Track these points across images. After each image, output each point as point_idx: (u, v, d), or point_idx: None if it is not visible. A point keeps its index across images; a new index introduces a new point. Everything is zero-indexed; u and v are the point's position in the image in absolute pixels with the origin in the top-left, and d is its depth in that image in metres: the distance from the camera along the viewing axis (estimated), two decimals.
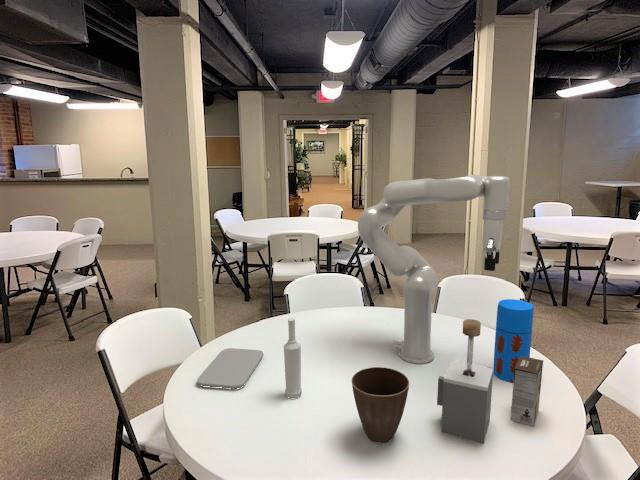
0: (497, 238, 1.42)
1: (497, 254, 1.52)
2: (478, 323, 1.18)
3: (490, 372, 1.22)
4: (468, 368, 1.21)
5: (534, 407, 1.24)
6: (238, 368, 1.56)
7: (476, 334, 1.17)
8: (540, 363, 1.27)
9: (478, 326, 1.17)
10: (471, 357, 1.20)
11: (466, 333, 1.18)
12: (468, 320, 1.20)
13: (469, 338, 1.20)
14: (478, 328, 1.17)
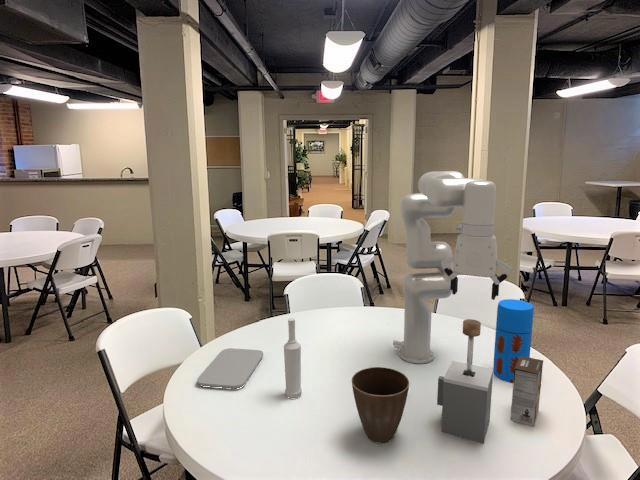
0: None
1: (457, 280, 1.20)
2: (478, 323, 1.18)
3: (490, 372, 1.22)
4: (468, 368, 1.21)
5: (534, 407, 1.24)
6: (238, 368, 1.56)
7: (476, 334, 1.17)
8: (540, 363, 1.27)
9: (478, 326, 1.17)
10: (471, 357, 1.20)
11: (466, 333, 1.18)
12: (468, 320, 1.20)
13: (469, 338, 1.20)
14: (478, 328, 1.17)
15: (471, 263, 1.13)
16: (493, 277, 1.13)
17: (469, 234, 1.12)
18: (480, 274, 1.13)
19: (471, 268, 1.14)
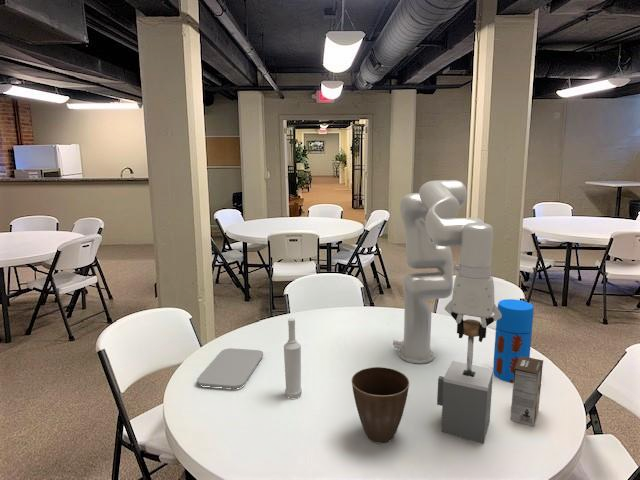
0: None
1: None
2: (478, 323, 1.18)
3: (490, 372, 1.22)
4: (468, 368, 1.21)
5: (534, 407, 1.24)
6: (238, 368, 1.56)
7: (476, 334, 1.17)
8: (540, 363, 1.27)
9: (478, 326, 1.17)
10: (471, 357, 1.20)
11: (466, 333, 1.18)
12: (468, 320, 1.20)
13: (469, 338, 1.20)
14: (478, 328, 1.17)
15: (469, 303, 1.16)
16: (483, 320, 1.16)
17: (467, 276, 1.14)
18: (477, 314, 1.15)
19: (468, 308, 1.16)
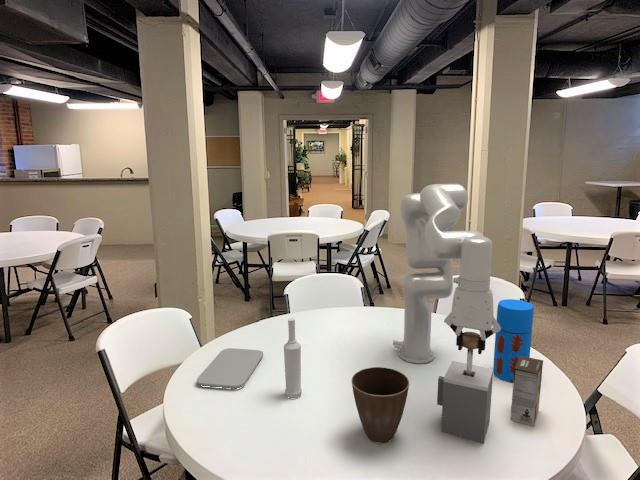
0: None
1: None
2: (477, 336, 1.19)
3: (490, 372, 1.22)
4: None
5: (534, 407, 1.24)
6: (238, 368, 1.56)
7: (475, 347, 1.18)
8: (540, 363, 1.27)
9: (477, 339, 1.18)
10: (470, 369, 1.21)
11: (465, 346, 1.19)
12: (467, 332, 1.21)
13: (468, 350, 1.20)
14: (477, 341, 1.18)
15: (468, 316, 1.16)
16: (482, 332, 1.17)
17: (466, 289, 1.15)
18: (476, 327, 1.16)
19: (468, 321, 1.17)
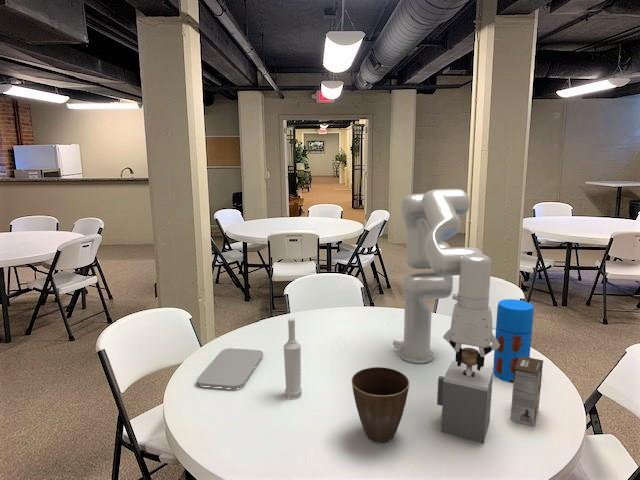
0: None
1: None
2: (476, 352, 1.20)
3: (490, 372, 1.22)
4: None
5: (534, 407, 1.24)
6: (238, 368, 1.56)
7: (474, 363, 1.19)
8: (540, 363, 1.27)
9: (476, 355, 1.19)
10: None
11: (464, 362, 1.20)
12: (466, 348, 1.22)
13: (467, 366, 1.21)
14: (476, 357, 1.19)
15: (467, 333, 1.17)
16: (481, 349, 1.18)
17: (465, 306, 1.16)
18: (475, 344, 1.17)
19: (467, 338, 1.18)
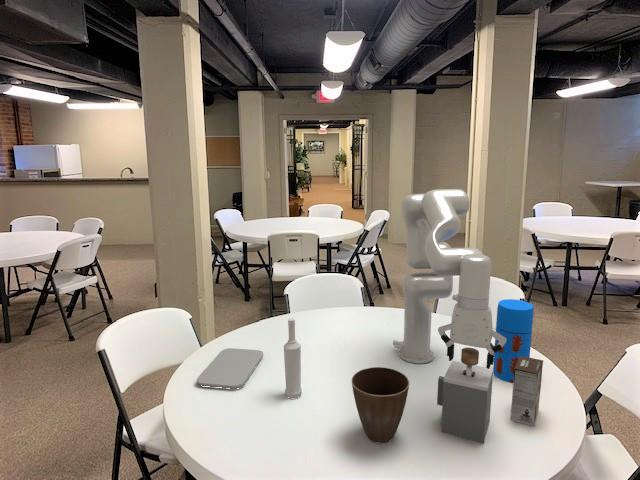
0: None
1: None
2: (476, 352, 1.20)
3: (490, 372, 1.22)
4: None
5: (534, 407, 1.24)
6: (238, 368, 1.56)
7: (474, 363, 1.19)
8: (540, 363, 1.27)
9: (476, 355, 1.19)
10: None
11: (464, 362, 1.20)
12: (466, 348, 1.22)
13: (467, 366, 1.21)
14: (476, 357, 1.19)
15: (467, 334, 1.17)
16: (488, 347, 1.17)
17: (465, 307, 1.16)
18: (475, 345, 1.17)
19: (467, 338, 1.18)
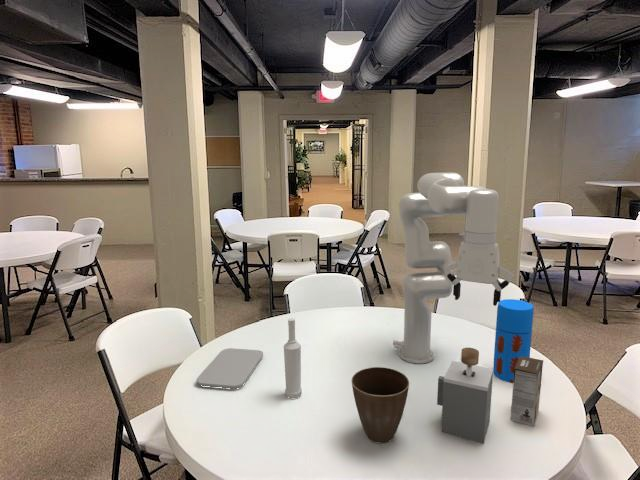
0: None
1: (460, 285, 1.22)
2: (476, 352, 1.20)
3: (490, 372, 1.22)
4: None
5: (534, 407, 1.24)
6: (238, 368, 1.56)
7: (474, 363, 1.19)
8: (540, 363, 1.27)
9: (476, 355, 1.19)
10: None
11: (464, 362, 1.20)
12: (466, 348, 1.22)
13: (467, 366, 1.21)
14: (476, 357, 1.19)
15: (473, 270, 1.16)
16: (495, 284, 1.16)
17: (472, 242, 1.14)
18: (482, 281, 1.15)
19: (473, 275, 1.16)
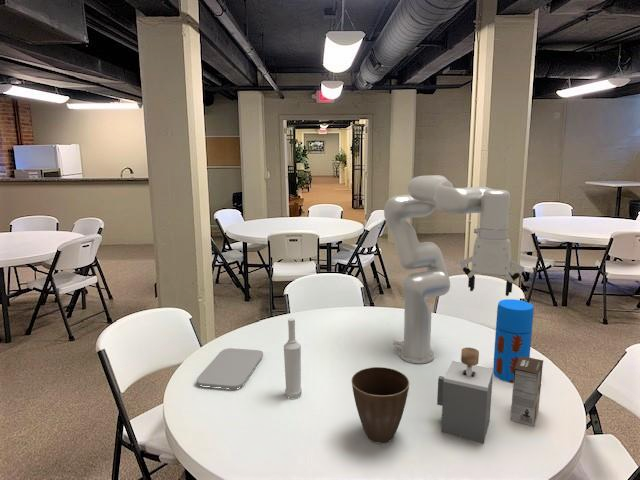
0: None
1: (474, 278, 1.34)
2: (476, 352, 1.20)
3: (490, 372, 1.22)
4: None
5: (534, 407, 1.24)
6: (238, 368, 1.56)
7: (474, 363, 1.19)
8: (540, 363, 1.27)
9: (476, 355, 1.19)
10: None
11: (464, 362, 1.20)
12: (466, 348, 1.22)
13: (467, 366, 1.21)
14: (476, 357, 1.19)
15: (487, 263, 1.27)
16: (507, 276, 1.27)
17: (486, 237, 1.25)
18: (496, 273, 1.27)
19: (487, 268, 1.27)
